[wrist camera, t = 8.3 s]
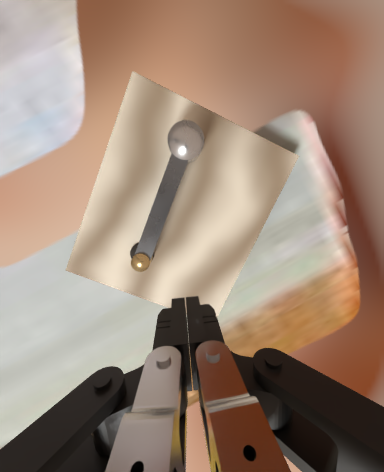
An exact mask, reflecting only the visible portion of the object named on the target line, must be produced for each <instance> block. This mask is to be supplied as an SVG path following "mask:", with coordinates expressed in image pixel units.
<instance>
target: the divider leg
mask: <svg viewBox="0 0 384 472" xmlns="http://www.w3.org/2000/svg"><path fill="white" fill-rule="evenodd" d="M168 146H169V149H170V153H171V156H170V159H169V162H168V164H167V167H166V170H165V173H164V175H163V178H162V181H161V184H160V186H159V189H158V192H157V195H156V197H155V200H154V203H153V205H152V208H151V211H150V214H149V216H148V219H147V222H146V225H145V227H144V230H143V233H142V236H141V238H140V241H139V244H138V247H137V249H136V252H135V255H134V256H133V258H132V259H131V266H132V268H133V269H134V270H136V271H138V272H143V271H145V270H147V269H148V267H149V265H150V263H151V261H152V259H153V253H154V251H155V248H156V246H157V243H158V240H159V238H160V235H161V232H162V230H163V227H164V225H165V222H166V219H167V217H168V214H169V212H170V209H171V206H172V204H173V201H174V198H175V196H176V193H177V191H178V188H179V185H180V183H181V180H182V178H183V175H184V172H185V170H186V167H187V164H188V163H191V162H193V161H195V160H196V159H197V158H198V157H199V155H200V153H201V151H202V149H203V146H204V134H203V131H202V129H201V128H200V127H199V126H198V125H197V124H196V123H195V122H193V121H190V120H182V121H179V122H177V123H175V124H174V125H173V126H172V127H171V129H170V131H169V133H168Z"/></svg>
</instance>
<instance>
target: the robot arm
mask: <svg viewBox="0 0 384 472" xmlns="http://www.w3.org/2000/svg"><path fill="white" fill-rule="evenodd" d="M186 308H187V317H186ZM187 321H188V328H187ZM188 334H189V341H188ZM189 347H190V355H189ZM190 357H191V368H192V378H193V388H194V390H198V392H199V401H200V412H201V418H202V423H203V429H204V435H205V440H206V446H207V452H208V458H209V463H210V469H211V472H291V471H290V469H289V466H288V464H287V462H286V460H285V458H284V456H286V457H287V458H288V459H289V460H290V461H291V462H292V463H293V464H294V465H295V466H296V467H298V468H299V469H300V470H301V471H302V472H384V407H383V406H381V405H379V404H377V403H375V402H374V401H371V400H370V399H368V398H366V397H364V396H362V395H360V394H359V393H357V392H355V391H353V390H351V389H350V388H348V387H346V386H344V385H342V384H340V383H339V382H337V381H335V380H333V379H331V378H329V377H328V376H326V375H323V374H322V373H320V372H318V371H316V370H315V369H313V368H311V367H309V366H307V365H305V364H303V363H302V362H300V361H298V360H296V359H294V358H292V357H291V356H289V355H287V354H285V353H283V352H281V351H279V350H277V349H273V348H264V349H260V350H258V351H257V352H256V353H255V354H254V357H253V358H252V357H245V356H240V355H237V354H235V353H233V352H232V351H230V349H229V348H228V346H227V345H225V343H224V339H223V336H222V333H221V329H220V326H219V323H218V320H217V316H216V313H215V310H214V308H213V307H212V306H211V305H210V304H203V305H200V301H199V296H191V297H186V307H185V297H182V298H173V299H172V302H171V308H167V309H162V311H161V312H160V313H159V315H158V319H157V325H156V332H155V338H154V344H153V351H152V352H151V353H150V354H149V355H148V356H147V358H146V361H145V364H144V365H142V366H141V367H139V368H138V369H135V370H133V371H131V372H128V373H126V374H123V372H122V370H121V369H120V368H118V367H113V366H111V367H105V368H102V369H100V370H98V371H96V372H95V373H94V374H92V375H91V376H90V377H89V378H87V379H86V380H85V381H84V382H82V383H81V384H80V385H79V386H77V387H76V388H75V389H74V390H73V391H71V392H70V393H69V394H68V395H66V396H65V397H64V398H63V399H62V400H60V401H59V402H58V403H57V404H55V405H54V406H53V407H52V408H51V409H49V410H48V411H47V412H46V413H44V414H43V415H42V416H41V417H40V418H38V419H37V420H36V421H35V422H33V423H32V424H31V425H30V426H29V427H27V428H26V429H25V430H24V431H22V432H21V433H20V434H19V435H18V436H16V437H15V438H14V439H13V440H11V441H10V442H9V443H8V444H7V445H5V446H4V447H3V448H2V449H0V472H186V436H187V404H188V399H187V391H192V382H191V368H190Z"/></svg>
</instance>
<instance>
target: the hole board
mask: <svg viewBox="0 0 384 472" xmlns="http://www.w3.org/2000/svg"><path fill="white" fill-rule="evenodd" d="M182 120H190V121H193V122H195V123H196V124H197V125H198V126H199V127H200V128H201V129H202V131H203V134H204V146H203V149H202V151H201V153H200V155H199V157H198V158H197V159H196V160H195V161H193V162H191V163H188V164H187V167H186V170H185V172H184V175H183V178H182V180H181V183H180V185H179V188H178V191H177V193H176V196H175V198H174V201H173V204H172V206H171V209H170V212H169V214H168V217H167V219H166V222H165V225H164V227H163V230H162V232H161V235H160V238H159V240H158V243H157V246H156V248H155V251H154V253H153V259H152V261H151V263H150V265H149V267H148V269H147V270H145V271H143V272H138V271H136V270H134V269H133V268H132V266H131V259H132V258H133V256H134V255H135V252H136V249H137V247H138V244H139V241H140V238H141V236H142V233H143V230H144V227H145V225H146V222H147V219H148V216H149V214H150V211H151V208H152V205H153V203H154V200H155V197H156V195H157V192H158V189H159V186H160V184H161V181H162V178H163V175H164V173H165V170H166V167H167V164H168V162H169V159H170V156H171V153H170V149H169V146H168V133H169V131H170V129H171V127H172V126H173V125H174V124H175V123H177V122H179V121H182ZM298 157H299V156H298V155H296V154H294V153H292V152H290V151H288V150H286V149H284V148H282V147H280V146H278V145H277V144H275V143H273V142H271V141H269V140H267V139H265V138H263V137H261V136H259V135H257V134H255V133H253V132H251V131H249V130H247V129H245V128H243V127H241V126H239V125H237V124H235V123H233V122H231V121H229V120H227V119H225V118H224V117H222V116H220V115H218V114H216V113H213V112H212V111H210V110H208V109H206V108H204V107H202V106H200V105H198V104H196V103H194V102H192V101H190V100H188V99H186V98H184V97H182V96H180V95H178V94H176V93H174V92H172V91H170V90H169V89H167V88H165V87H163V86H161V85H159V84H156V83H155V82H153V81H151V80H149V79H147V78H145V77H143V76H141V75H139V74H137V73H135V72H132V75H131V78H130V81H129V84H128V87H127V90H126V93H125V96H124V99H123V101H122V104H121V108H120V110H119V113H118V116H117V119H116V122H115V125H114V128H113V131H112V134H111V137H110V141H109V143H108V146H107V149H106V152H105V155H104V158H103V161H102V164H101V167H100V170H99V173H98V176H97V179H96V182H95V185H94V188H93V191H92V194H91V197H90V200H89V203H88V206H87V209H86V212H85V215H84V218H83V221H82V223H81V226H80V229H79V232H78V235H77V238H76V241H75V244H74V247H73V250H72V253H71V256H70V259H69V262H68V265H67V268H66V271H69V272H72V273H74V274H77V275H80V276H83V277H85V278H88V279H91V280H94V281H96V282H99V283H102V284H105V285H107V286H110V287H113V288H116V289H118V290H121V291H124V292H127V293H129V294H132V295H135V296H138V297H140V298H143V299H146V300H149V301H151V302H154V303H157V304H160V305H162V306H165V307H168V308H171V302H172V299H173V298H182V297H185V307H186V297H191V296H199V301H200V305H203V304H210V305H211V306H212V307H213V308H214V310H215V313H216V316H217V317H218V315H219V313H220V311H221V309H222V307H223V305H224V303H225V301H226V299H227V297H228V295H229V293H230V291H231V289H232V287H233V285H234V283H235V281H236V279H237V277H238V275H239V273H240V271H241V269H242V267H243V265H244V263H245V261H246V260H247V258H248V256H249V254H250V252H251V250H252V248H253V246H254V244H255V242H256V240H257V238H258V236H259V234H260V232H261V230H262V228H263V226H264V224H265V222H266V220H267V218H268V216H269V214H270V212H271V210H272V208H273V206H274V204H275V202H276V200H277V198H278V196H279V194H280V192H281V191H282V189H283V187H284V185H285V183H286V181H287V179H288V177H289V175H290V173H291V171H292V169H293V167H294V165H295V163H296V161H297V159H298ZM186 314H187V308H186Z"/></svg>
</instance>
